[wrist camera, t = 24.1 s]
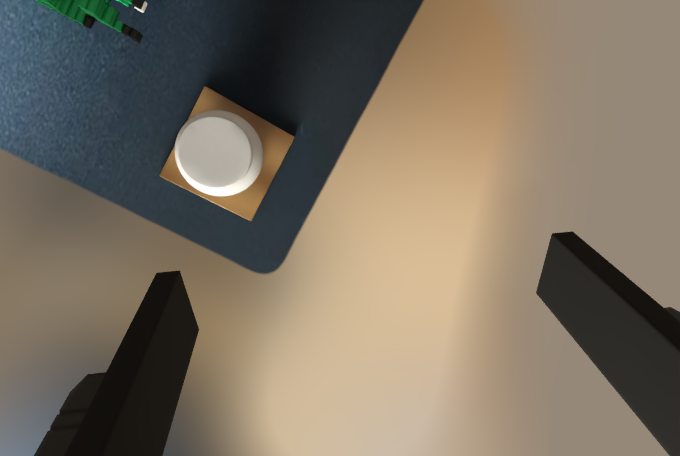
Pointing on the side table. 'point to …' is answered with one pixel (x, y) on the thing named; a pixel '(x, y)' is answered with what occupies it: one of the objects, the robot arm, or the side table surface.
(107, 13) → the green brick dinosaur
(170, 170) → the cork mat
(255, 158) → the pill bottle
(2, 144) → the side table surface
